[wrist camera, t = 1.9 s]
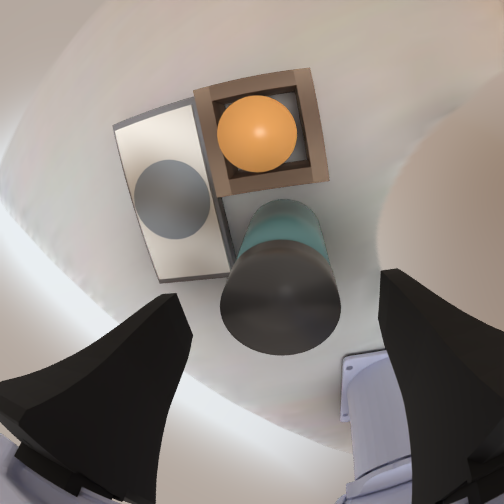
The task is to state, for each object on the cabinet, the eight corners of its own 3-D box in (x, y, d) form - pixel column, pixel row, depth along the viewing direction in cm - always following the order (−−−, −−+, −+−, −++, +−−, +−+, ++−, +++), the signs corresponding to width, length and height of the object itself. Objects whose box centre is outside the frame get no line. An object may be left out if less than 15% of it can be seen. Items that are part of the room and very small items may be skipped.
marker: (324, 262, 16) (341, 349, 10) (255, 270, 17) (235, 357, 11) (317, 193, 14) (338, 251, 8) (240, 204, 15) (206, 267, 9)
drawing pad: (238, 269, 17) (235, 278, 16) (164, 277, 18) (158, 285, 17) (199, 97, 13) (192, 95, 12) (119, 124, 14) (109, 125, 13)
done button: (299, 156, 12) (302, 166, 10) (239, 166, 13) (226, 178, 10) (288, 97, 11) (288, 89, 8) (227, 108, 12) (210, 105, 9)
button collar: (322, 171, 14) (329, 181, 12) (228, 185, 15) (217, 197, 13) (306, 77, 12) (310, 67, 10) (208, 95, 13) (193, 90, 11)
